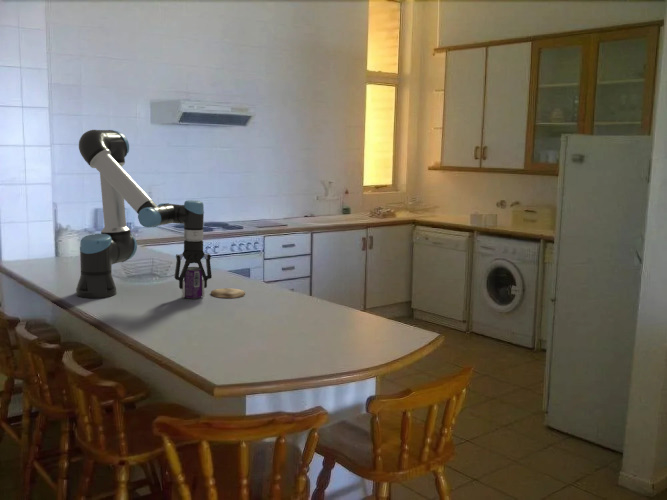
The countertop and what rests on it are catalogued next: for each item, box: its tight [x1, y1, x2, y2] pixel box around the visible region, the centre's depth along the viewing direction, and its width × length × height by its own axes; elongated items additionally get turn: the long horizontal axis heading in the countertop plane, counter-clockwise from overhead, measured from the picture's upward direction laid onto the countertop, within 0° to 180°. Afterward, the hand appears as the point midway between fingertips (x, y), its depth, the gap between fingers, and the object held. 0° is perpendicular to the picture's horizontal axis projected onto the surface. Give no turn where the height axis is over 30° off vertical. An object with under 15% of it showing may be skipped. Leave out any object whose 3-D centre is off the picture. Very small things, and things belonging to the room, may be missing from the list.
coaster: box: [210, 287, 246, 299], centre depth 287 cm, size 14×14×1 cm
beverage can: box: [183, 266, 203, 300], centre depth 277 cm, size 7×7×12 cm
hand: (192, 296), depth 278 cm, fingers closed on beverage can, 7 cm apart
